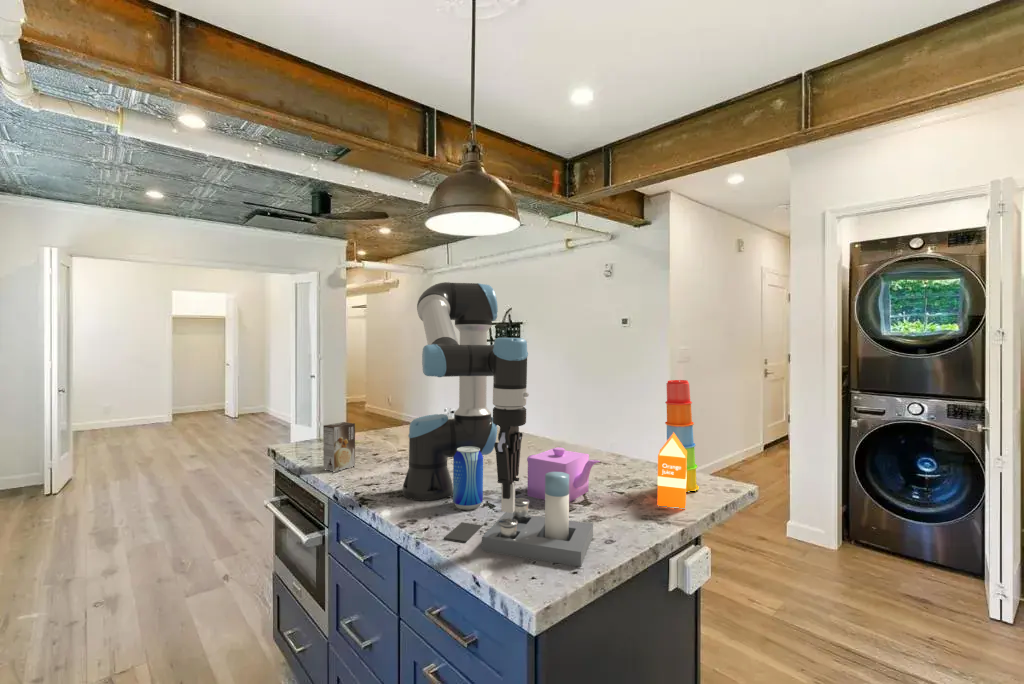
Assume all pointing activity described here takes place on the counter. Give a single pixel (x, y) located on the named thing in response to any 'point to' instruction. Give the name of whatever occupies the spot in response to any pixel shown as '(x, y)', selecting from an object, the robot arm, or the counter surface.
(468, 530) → the mat
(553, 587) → the counter surface
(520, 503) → the plunger far
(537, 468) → the teapot
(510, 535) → the chrome dome knob
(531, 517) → the housing
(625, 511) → the counter surface
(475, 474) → the beer can
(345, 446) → the coffee box
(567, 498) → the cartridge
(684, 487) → the orange juice
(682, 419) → the stacking cups
